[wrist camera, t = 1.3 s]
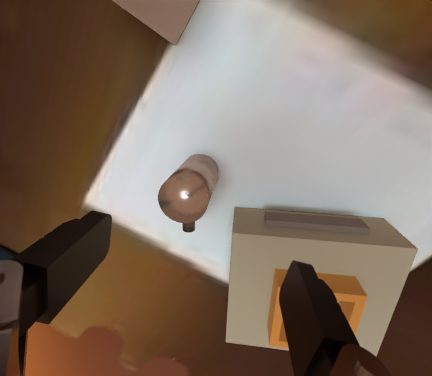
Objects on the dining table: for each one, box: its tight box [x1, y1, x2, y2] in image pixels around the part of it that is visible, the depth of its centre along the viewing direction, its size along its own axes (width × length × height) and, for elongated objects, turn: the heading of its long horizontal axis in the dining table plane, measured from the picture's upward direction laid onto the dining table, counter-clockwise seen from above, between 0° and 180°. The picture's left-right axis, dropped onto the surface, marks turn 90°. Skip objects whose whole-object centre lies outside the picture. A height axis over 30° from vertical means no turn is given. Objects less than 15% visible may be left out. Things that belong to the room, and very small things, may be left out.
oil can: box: [158, 154, 219, 232], centre depth 29 cm, size 7×5×10 cm
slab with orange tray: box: [226, 207, 418, 356], centre depth 32 cm, size 20×19×10 cm
